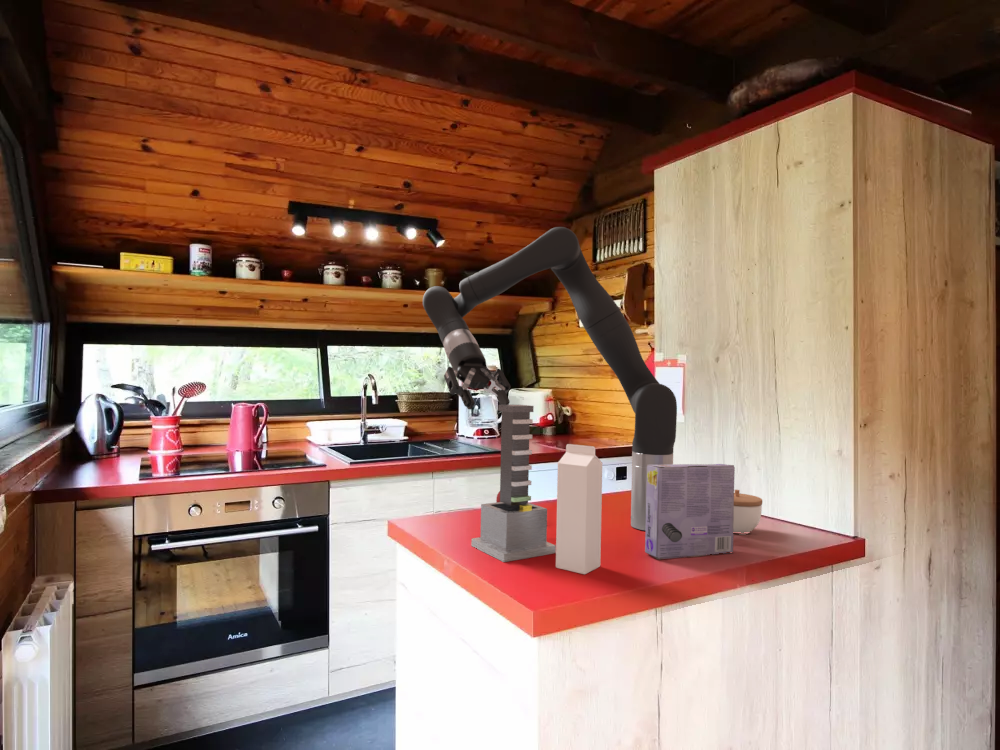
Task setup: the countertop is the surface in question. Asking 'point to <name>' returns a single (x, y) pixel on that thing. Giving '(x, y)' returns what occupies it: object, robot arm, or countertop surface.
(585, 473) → the milk
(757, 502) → the lidded jar
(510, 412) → the column
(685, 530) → the cake pan box
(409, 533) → the countertop surface
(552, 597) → the countertop surface
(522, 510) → the stand
